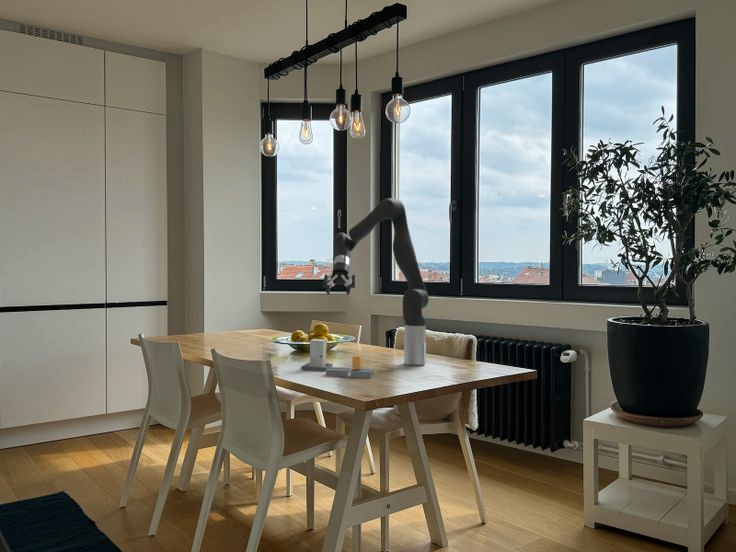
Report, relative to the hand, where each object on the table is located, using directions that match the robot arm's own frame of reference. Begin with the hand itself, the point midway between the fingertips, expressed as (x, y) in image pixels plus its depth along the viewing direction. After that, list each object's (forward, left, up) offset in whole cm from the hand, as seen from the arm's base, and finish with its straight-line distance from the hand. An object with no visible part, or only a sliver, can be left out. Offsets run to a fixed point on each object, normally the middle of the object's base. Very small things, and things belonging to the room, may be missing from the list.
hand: (337, 293), depth 287 cm
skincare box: (+4, +17, -31) cm, 36 cm away
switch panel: (-13, +30, -31) cm, 45 cm away
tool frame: (+4, +18, -31) cm, 36 cm away
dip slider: (-16, +30, -28) cm, 44 cm away
